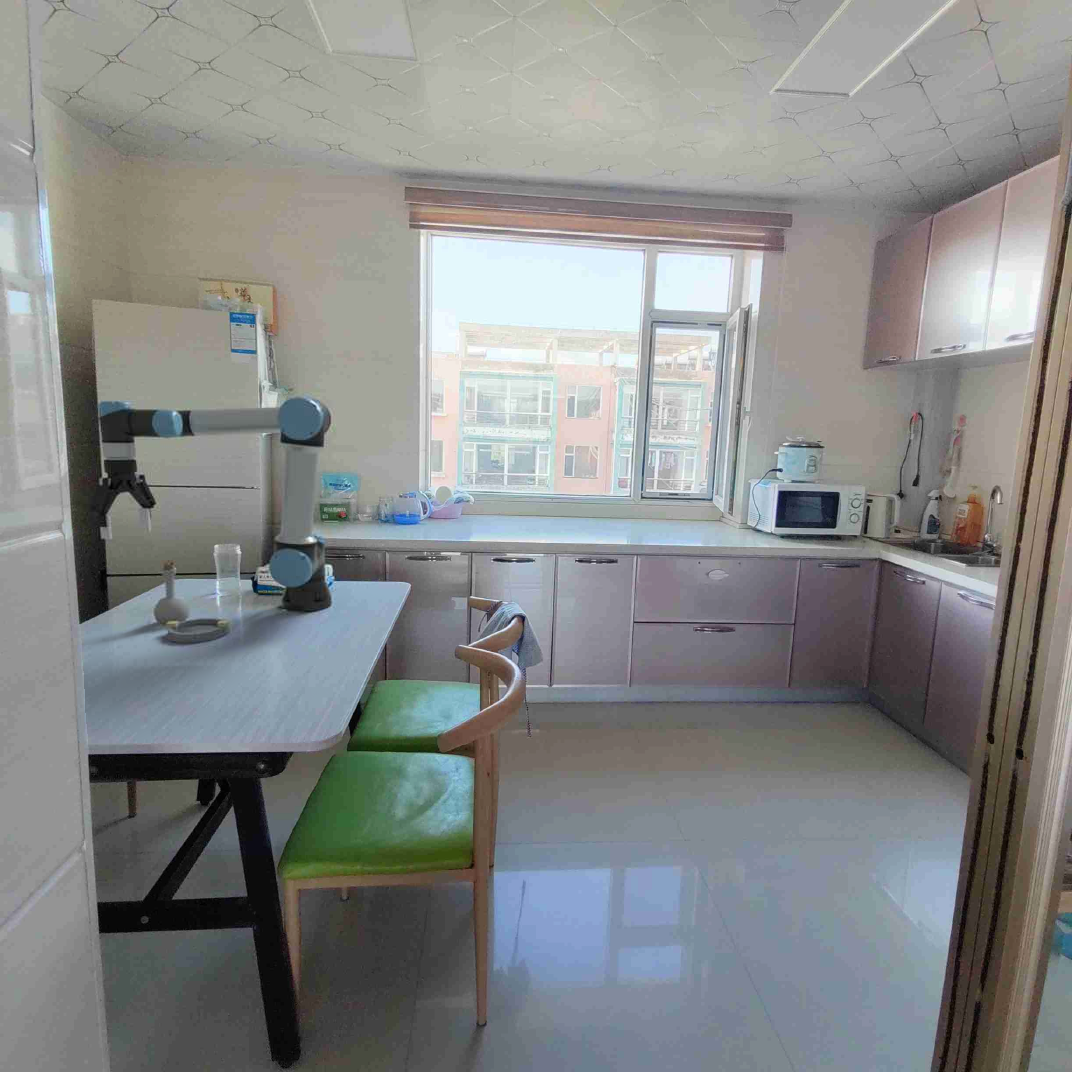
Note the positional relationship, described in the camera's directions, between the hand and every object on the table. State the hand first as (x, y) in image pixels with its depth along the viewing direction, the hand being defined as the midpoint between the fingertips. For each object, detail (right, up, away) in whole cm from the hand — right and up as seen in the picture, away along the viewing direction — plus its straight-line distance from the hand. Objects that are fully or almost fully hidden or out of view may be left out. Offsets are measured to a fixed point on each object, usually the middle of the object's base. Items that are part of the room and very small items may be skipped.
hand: (127, 534), depth 172 cm
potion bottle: (+11, -25, +3) cm, 28 cm away
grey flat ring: (+23, -27, -5) cm, 36 cm away
